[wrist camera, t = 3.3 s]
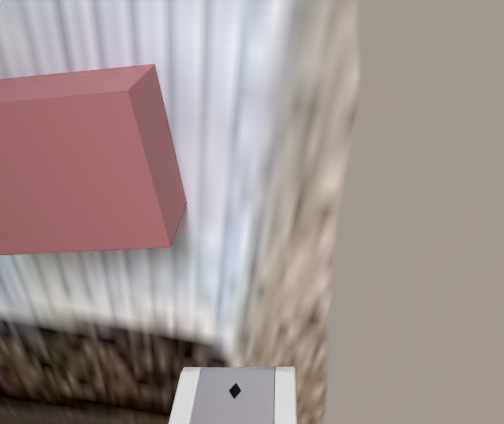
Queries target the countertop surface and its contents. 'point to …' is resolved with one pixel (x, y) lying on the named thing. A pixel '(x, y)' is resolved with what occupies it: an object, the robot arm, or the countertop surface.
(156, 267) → the countertop surface
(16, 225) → the carton
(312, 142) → the countertop surface
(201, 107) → the countertop surface
